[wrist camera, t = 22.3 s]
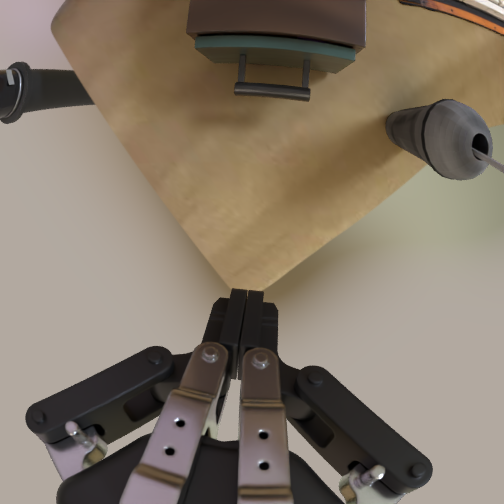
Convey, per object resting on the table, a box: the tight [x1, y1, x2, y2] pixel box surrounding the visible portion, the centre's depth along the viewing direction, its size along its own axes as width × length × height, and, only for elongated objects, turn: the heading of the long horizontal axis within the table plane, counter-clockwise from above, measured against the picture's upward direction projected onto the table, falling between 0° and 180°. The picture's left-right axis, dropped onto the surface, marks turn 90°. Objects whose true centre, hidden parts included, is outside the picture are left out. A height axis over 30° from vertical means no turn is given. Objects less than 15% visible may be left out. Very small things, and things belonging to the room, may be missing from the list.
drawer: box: [195, 33, 356, 102], centre depth 19 cm, size 19×14×8 cm
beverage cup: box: [386, 99, 504, 180], centre depth 18 cm, size 7×7×20 cm
